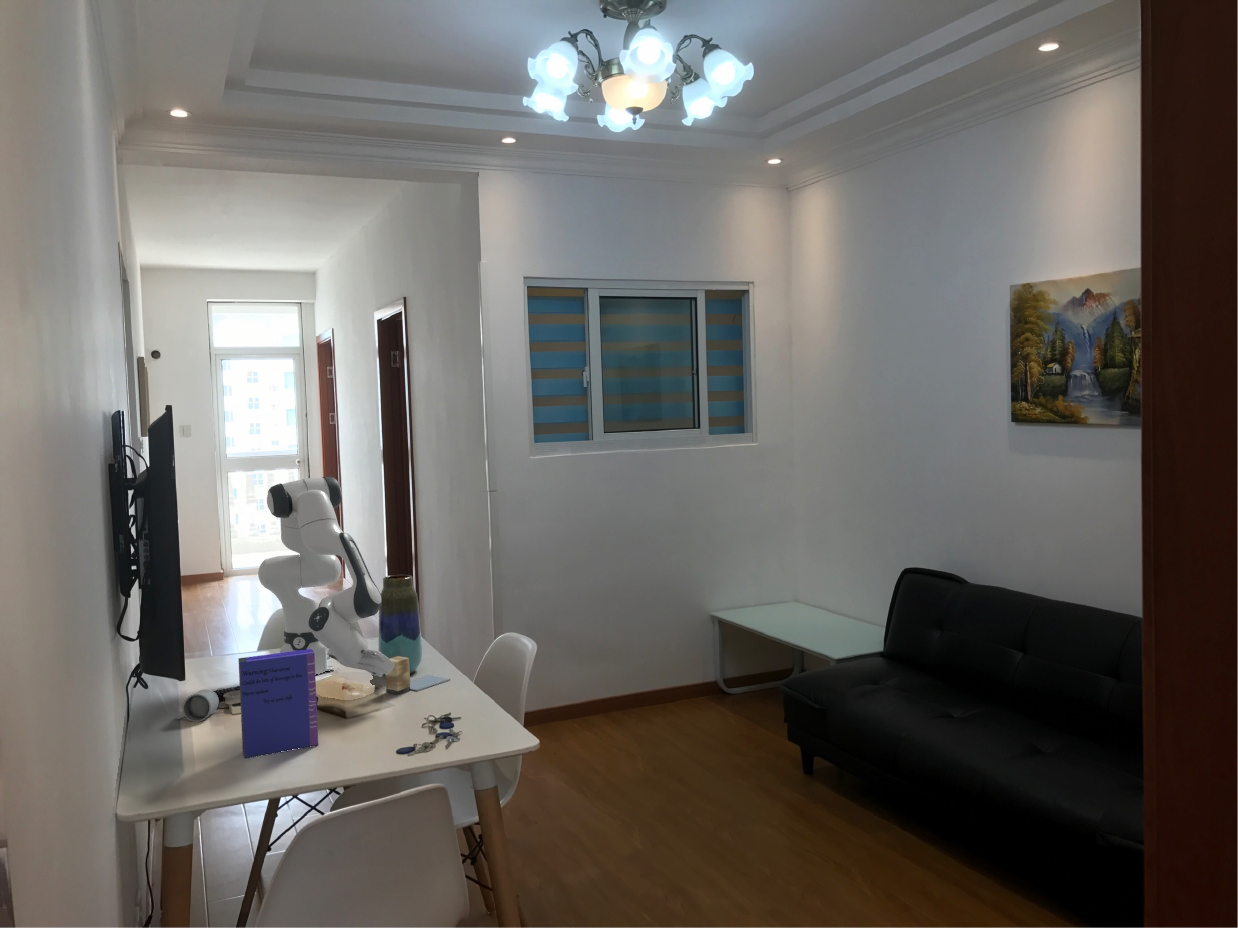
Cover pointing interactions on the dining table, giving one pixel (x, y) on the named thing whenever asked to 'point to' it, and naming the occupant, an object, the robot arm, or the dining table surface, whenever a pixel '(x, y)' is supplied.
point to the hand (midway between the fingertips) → (379, 674)
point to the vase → (400, 620)
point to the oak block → (398, 676)
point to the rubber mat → (425, 682)
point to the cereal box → (278, 702)
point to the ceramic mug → (199, 706)
